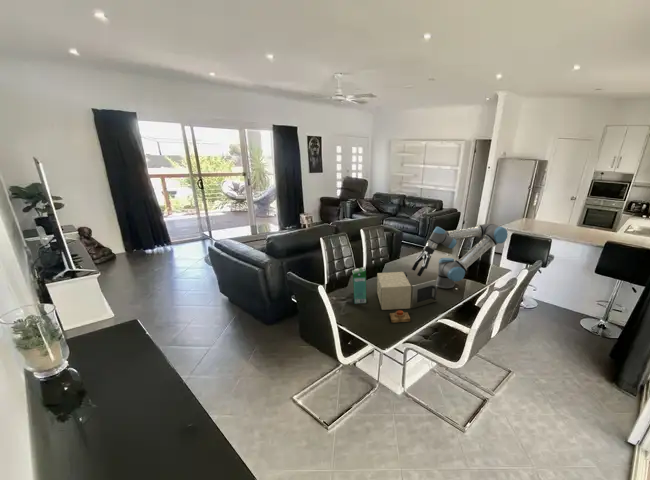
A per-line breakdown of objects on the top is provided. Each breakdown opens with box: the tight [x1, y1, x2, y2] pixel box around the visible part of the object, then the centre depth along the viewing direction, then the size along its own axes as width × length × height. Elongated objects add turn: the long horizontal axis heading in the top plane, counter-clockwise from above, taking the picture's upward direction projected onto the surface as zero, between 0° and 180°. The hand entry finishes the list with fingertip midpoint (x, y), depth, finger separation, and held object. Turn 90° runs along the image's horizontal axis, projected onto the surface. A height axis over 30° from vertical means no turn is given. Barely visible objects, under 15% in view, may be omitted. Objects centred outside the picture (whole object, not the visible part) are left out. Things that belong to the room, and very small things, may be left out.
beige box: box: [376, 271, 412, 311], centre depth 232 cm, size 22×28×17 cm
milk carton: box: [352, 266, 368, 305], centre depth 231 cm, size 9×9×25 cm
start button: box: [396, 309, 404, 315], centre depth 208 cm, size 4×4×2 cm
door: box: [410, 279, 438, 309], centre depth 223 cm, size 5×21×17 cm, turn 121°
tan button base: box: [389, 311, 411, 324], centre depth 209 cm, size 12×9×4 cm
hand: (415, 272), depth 235 cm, fingers open, 13 cm apart
